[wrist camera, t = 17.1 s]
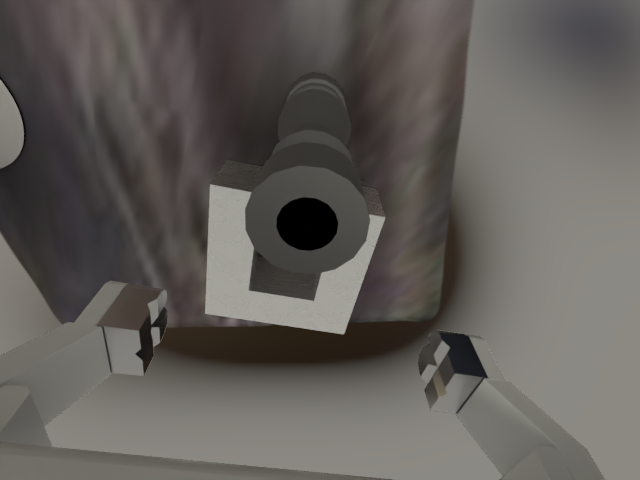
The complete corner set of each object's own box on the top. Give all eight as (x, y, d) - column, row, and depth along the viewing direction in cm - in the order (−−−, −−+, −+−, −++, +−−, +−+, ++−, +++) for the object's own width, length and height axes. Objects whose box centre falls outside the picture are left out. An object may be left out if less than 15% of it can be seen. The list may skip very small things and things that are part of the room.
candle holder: (275, 91, 36) (209, 199, 15) (328, 60, 34) (338, 132, 13) (304, 143, 39) (284, 294, 18) (355, 117, 37) (396, 248, 16)
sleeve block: (219, 278, 50) (205, 313, 44) (226, 159, 40) (209, 184, 34) (341, 297, 51) (343, 334, 46) (376, 189, 42) (385, 217, 36)
